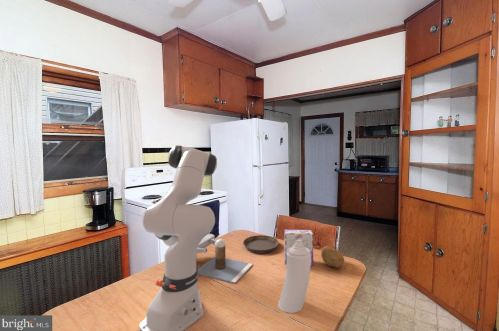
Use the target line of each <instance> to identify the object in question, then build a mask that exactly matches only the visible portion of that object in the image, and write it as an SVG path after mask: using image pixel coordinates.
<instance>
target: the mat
mask: <svg viewBox="0 0 499 331" xmlns="http://www.w3.org/2000/svg"><path fill="white" fill-rule="evenodd" d="M253 266H254V265H253V263H250V262H249V263H248V262H246V261H245V262H244V261H241V260H235V259H231V258H227V257H226V268H225V269H222V270H218V269H216V268H215V256H213V257H212V258H211V259H209V260H208V261H207V262H205V263H204V264H203V265H201V266H200V267H198V268H197V269H198V275H200V276H204V277H208V278H211V279H216V280H219V281H222V282H226V283H231V284H233V285H236V284H237V282H239V280H240V279H241V278H243V276H244V275H245V274H247V272H248V271H249V269H251V268H252V267H253Z"/></svg>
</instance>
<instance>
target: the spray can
mask: <svg viewBox="0 0 499 331" xmlns="http://www.w3.org/2000/svg"><path fill="white" fill-rule="evenodd" d="M286 256H287V264H286V267H285V278H284V280H283V281H284V282H283V285H282V289H281V294H280V297H279V301H278V304H277V305H278V309H280V310H281V311H282V312H285V313H287V314H288V313H289V314H296V313H299V312H300V311H301V310H303V306H304V303H305V300H306V296H307V291H308V287H309V282H310V276H311V275H310V274H311V266H312V265H311V253H310V250H309V249H308V248H306V247H304V245H303V244H302V240H296V243H295V244H294V245H293V247H289V248H288V249H287V252H286Z"/></svg>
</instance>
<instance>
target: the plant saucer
mask: <svg viewBox="0 0 499 331" xmlns="http://www.w3.org/2000/svg"><path fill="white" fill-rule="evenodd" d="M242 244H243V246H244V248H245V249H246V250H248V251H250V252H252V253H256V254H265V253H270V252H273V251H274V250H275V249H276V248H277V247H278V246H279V241H278V239H277V238H275V237H273V236H270V235H263V234H261V235H260V234H259V235H250V236H249V237H246V238H245V239H244V240H243V243H242Z"/></svg>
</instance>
